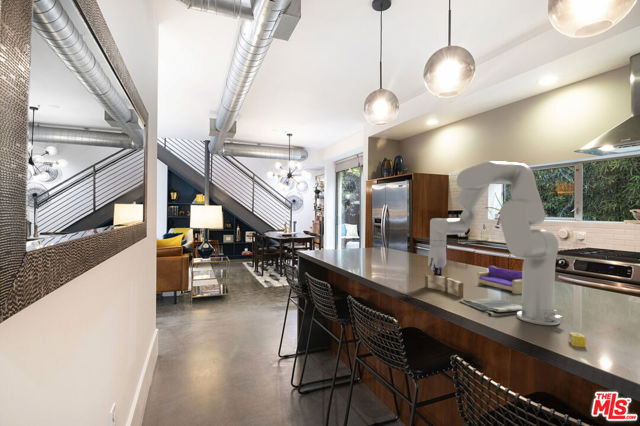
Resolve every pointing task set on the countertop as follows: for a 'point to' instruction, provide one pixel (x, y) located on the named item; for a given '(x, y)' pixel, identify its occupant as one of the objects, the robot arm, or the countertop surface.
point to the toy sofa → (501, 279)
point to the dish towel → (493, 306)
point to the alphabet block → (577, 339)
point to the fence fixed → (454, 287)
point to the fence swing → (435, 282)
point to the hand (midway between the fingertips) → (437, 281)
